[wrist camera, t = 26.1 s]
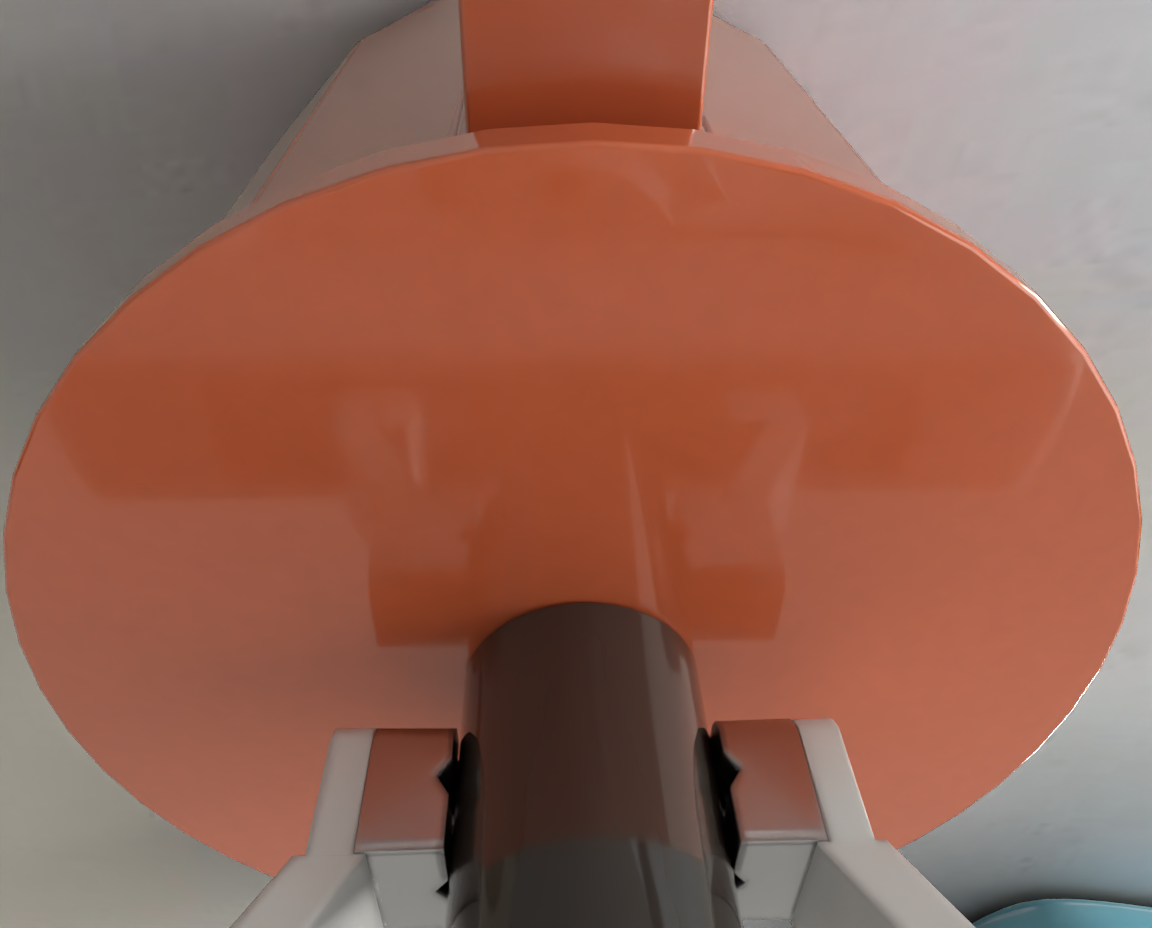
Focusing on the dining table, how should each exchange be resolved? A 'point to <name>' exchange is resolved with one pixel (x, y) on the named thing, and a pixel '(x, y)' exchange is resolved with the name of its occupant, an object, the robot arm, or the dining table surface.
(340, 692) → the pot lid
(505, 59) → the pot
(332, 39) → the dining table surface
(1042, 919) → the casserole dish
